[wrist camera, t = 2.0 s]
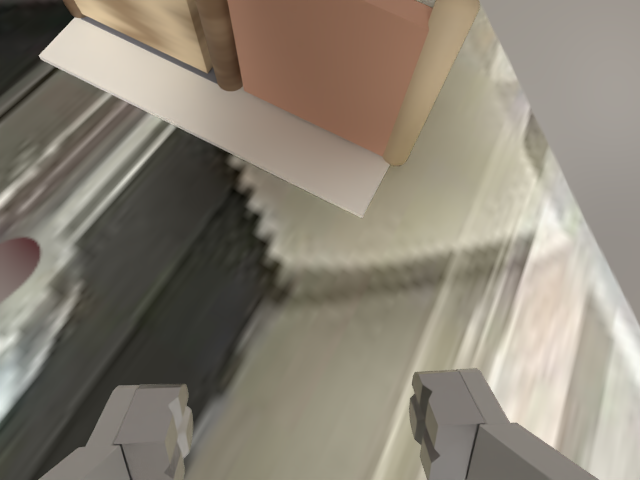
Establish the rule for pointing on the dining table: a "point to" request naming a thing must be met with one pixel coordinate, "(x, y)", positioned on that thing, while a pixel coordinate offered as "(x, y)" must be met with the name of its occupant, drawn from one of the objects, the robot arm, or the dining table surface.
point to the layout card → (219, 114)
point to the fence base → (174, 30)
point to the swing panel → (352, 63)
